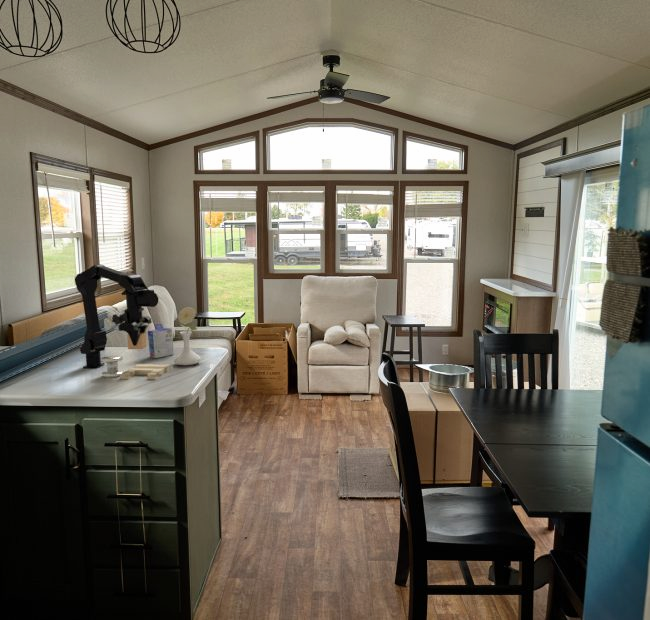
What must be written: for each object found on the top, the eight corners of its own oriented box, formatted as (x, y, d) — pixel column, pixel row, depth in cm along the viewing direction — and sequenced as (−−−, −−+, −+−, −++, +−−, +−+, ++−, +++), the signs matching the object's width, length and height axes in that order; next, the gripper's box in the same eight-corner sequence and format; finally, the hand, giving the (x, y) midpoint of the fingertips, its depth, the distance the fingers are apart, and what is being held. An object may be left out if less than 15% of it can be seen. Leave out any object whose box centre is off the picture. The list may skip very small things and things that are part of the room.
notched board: (137, 368, 237) (137, 364, 237) (170, 368, 236) (170, 364, 235) (120, 379, 221) (120, 374, 221) (155, 379, 220) (155, 374, 220)
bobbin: (108, 372, 232) (106, 355, 231) (127, 372, 231) (125, 355, 230) (98, 377, 224) (97, 360, 223) (118, 377, 223) (116, 360, 222)
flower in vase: (168, 364, 243) (165, 306, 240) (191, 359, 252) (188, 303, 248) (186, 369, 235) (182, 309, 231) (209, 364, 243) (206, 305, 239)
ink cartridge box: (168, 353, 266) (166, 322, 264) (174, 354, 262) (172, 323, 260) (148, 356, 259) (146, 325, 257) (154, 358, 255) (152, 326, 253)
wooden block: (132, 347, 233) (131, 332, 232) (146, 347, 233) (145, 332, 232) (128, 349, 229) (127, 334, 228) (142, 349, 229) (141, 334, 228)
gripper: (124, 303, 238) (127, 340, 241) (103, 309, 220) (107, 349, 222) (150, 303, 237) (153, 339, 240) (131, 309, 219) (134, 349, 221)
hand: (137, 344), depth 231 cm, fingers closed on wooden block, 4 cm apart
